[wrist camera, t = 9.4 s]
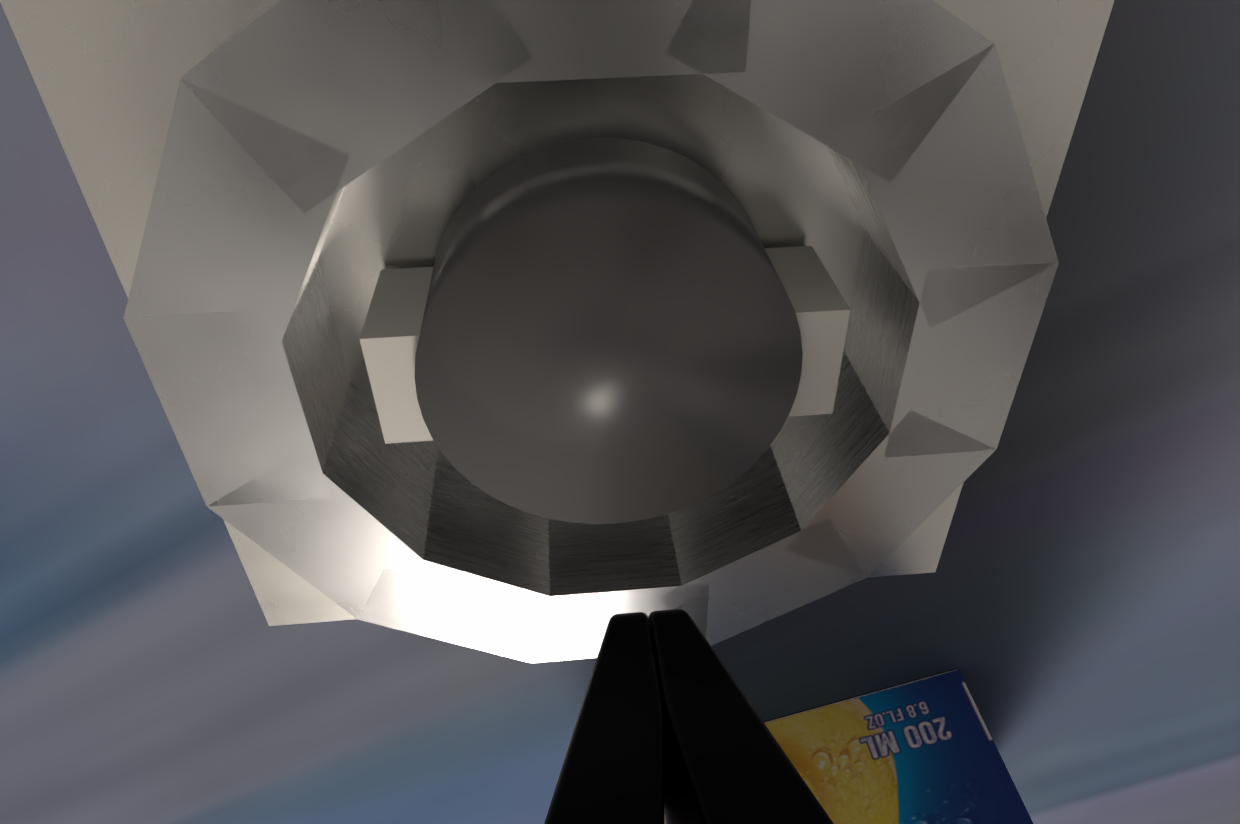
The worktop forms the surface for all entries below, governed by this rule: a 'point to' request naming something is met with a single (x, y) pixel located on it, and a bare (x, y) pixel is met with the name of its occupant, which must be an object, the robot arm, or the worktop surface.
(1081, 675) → the worktop surface
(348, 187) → the grey faceted ring
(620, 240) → the cap
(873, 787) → the beverage box
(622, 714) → the robot arm
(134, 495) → the worktop surface
